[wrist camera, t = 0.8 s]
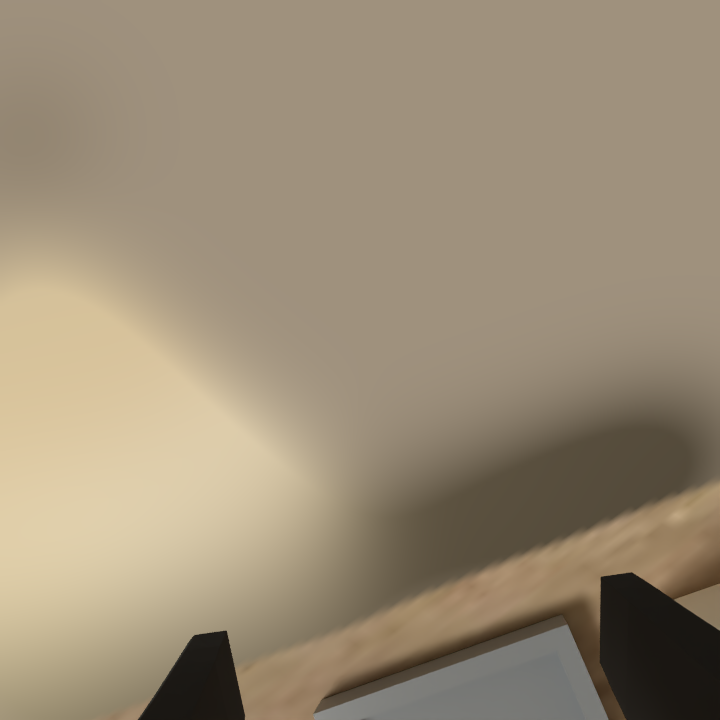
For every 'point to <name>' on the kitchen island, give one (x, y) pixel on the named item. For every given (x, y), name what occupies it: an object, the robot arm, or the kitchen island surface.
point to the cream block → (704, 604)
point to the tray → (483, 683)
